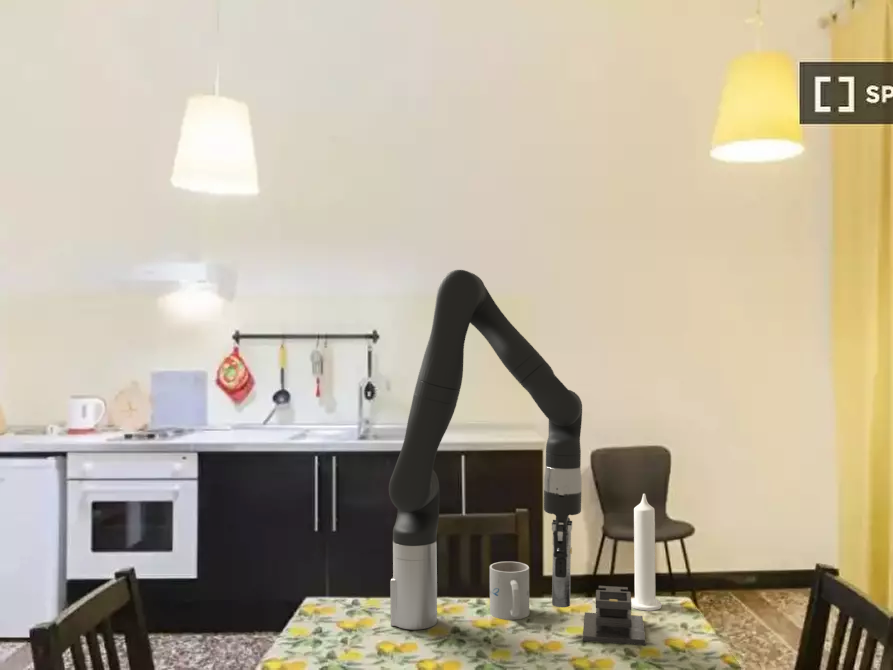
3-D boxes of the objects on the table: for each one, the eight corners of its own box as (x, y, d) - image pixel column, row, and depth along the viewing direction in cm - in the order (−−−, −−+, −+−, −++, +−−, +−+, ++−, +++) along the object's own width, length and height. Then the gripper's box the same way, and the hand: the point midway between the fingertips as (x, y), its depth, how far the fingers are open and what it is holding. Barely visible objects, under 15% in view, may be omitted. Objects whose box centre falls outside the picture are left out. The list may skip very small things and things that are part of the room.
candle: (662, 611, 173) (661, 497, 174) (629, 609, 175) (628, 496, 175) (660, 601, 180) (659, 491, 181) (628, 599, 182) (627, 490, 182)
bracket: (582, 640, 157) (582, 604, 157) (584, 617, 170) (584, 583, 170) (645, 645, 154) (645, 608, 154) (642, 620, 168) (642, 586, 168)
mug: (490, 605, 178) (490, 561, 178) (529, 606, 177) (528, 561, 177) (488, 625, 166) (488, 577, 166) (529, 626, 165) (529, 578, 165)
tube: (551, 606, 159) (552, 536, 159) (552, 600, 163) (553, 532, 163) (570, 608, 158) (571, 537, 158) (571, 602, 162) (572, 533, 162)
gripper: (546, 481, 168) (545, 563, 168) (541, 494, 154) (539, 582, 154) (582, 483, 167) (581, 565, 167) (580, 496, 153) (578, 585, 153)
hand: (561, 573), depth 161 cm, fingers closed on tube, 3 cm apart
